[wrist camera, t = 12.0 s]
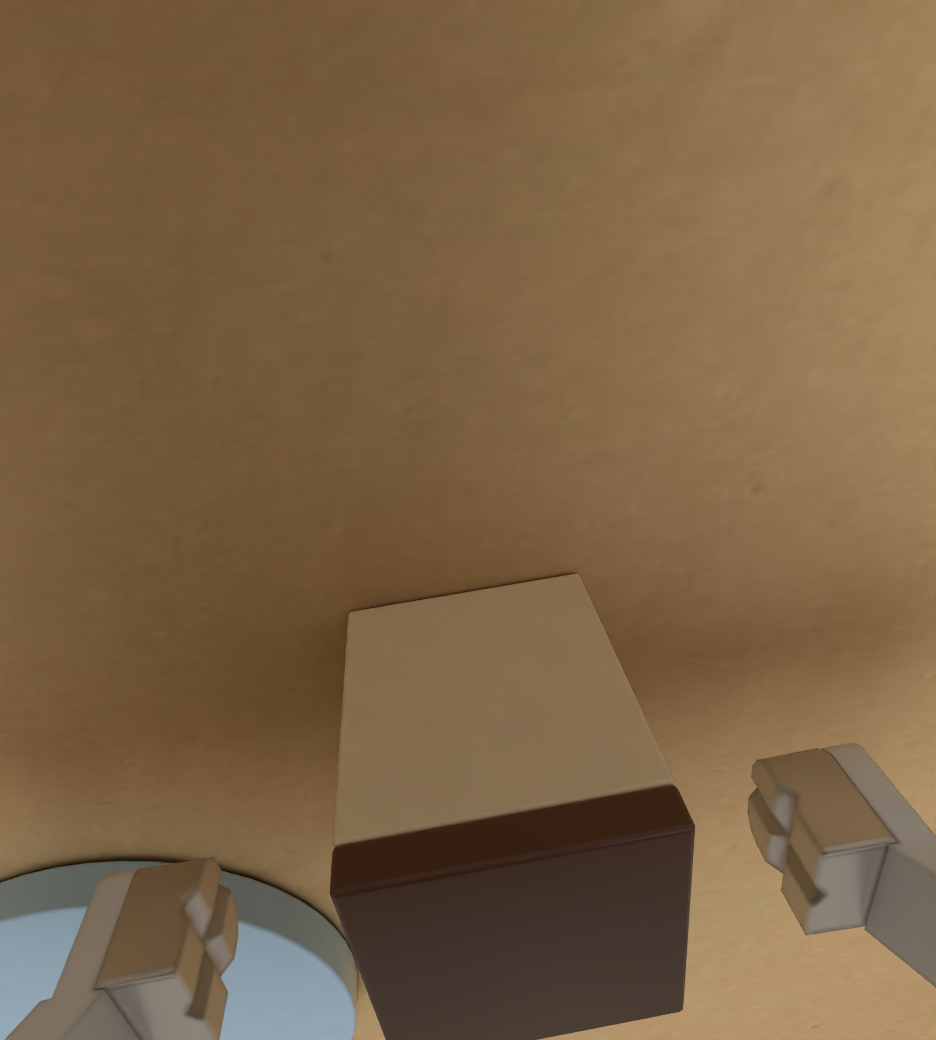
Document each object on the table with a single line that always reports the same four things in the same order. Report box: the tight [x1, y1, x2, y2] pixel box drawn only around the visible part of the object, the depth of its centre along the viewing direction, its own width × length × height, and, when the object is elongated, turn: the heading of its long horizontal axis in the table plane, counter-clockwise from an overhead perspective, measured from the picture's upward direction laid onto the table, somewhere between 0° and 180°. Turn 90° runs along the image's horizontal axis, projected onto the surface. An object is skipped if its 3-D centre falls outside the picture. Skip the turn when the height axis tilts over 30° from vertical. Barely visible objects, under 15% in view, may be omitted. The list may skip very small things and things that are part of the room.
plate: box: [0, 861, 357, 1040], centre depth 16 cm, size 10×10×1 cm
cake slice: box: [330, 574, 695, 1040], centre depth 10 cm, size 4×4×5 cm
